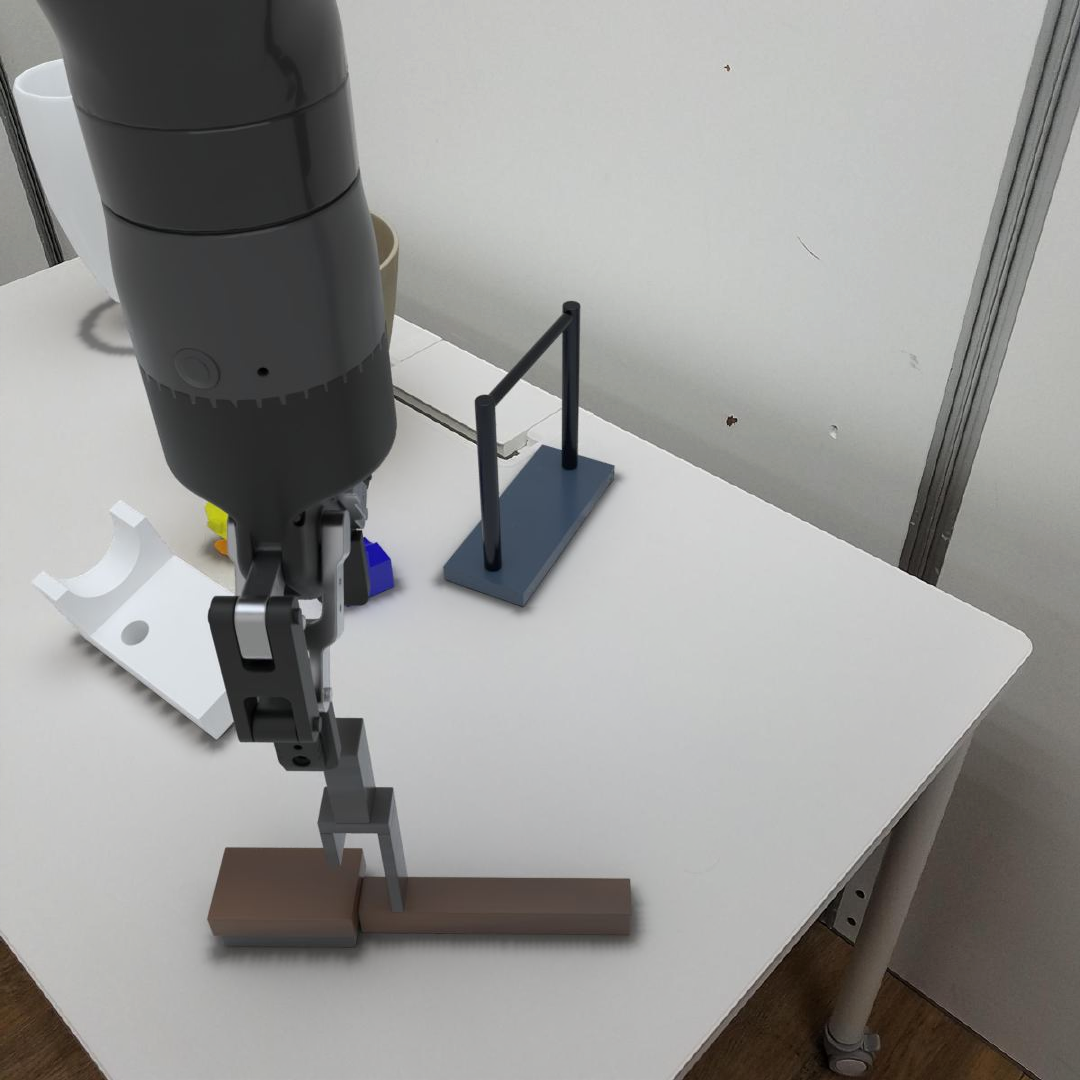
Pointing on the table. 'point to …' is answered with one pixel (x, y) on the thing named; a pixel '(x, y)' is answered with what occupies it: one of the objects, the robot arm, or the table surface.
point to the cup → (64, 165)
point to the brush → (388, 881)
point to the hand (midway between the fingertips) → (329, 674)
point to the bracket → (149, 618)
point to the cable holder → (378, 568)
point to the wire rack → (530, 486)
